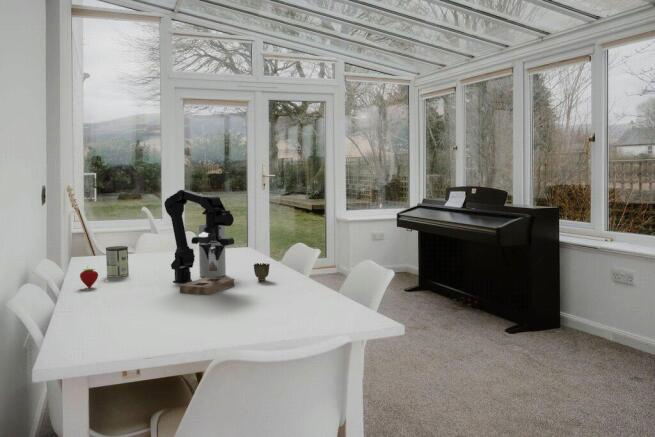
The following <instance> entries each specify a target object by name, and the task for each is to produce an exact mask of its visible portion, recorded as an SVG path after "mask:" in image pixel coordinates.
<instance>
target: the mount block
mask: <svg viewBox="0 0 655 437" xmlns="http://www.w3.org/2000/svg"><path fill="white" fill-rule="evenodd" d="M234 286H235V278H231V277H229V278H228V277H201V278H199V279H196V280H192V281H189V282H186V283H182V284H180V285H179V293H180V294H181V293H182V294H183V293H184V294H197V295H207V296H209V295H211V294H214V293H217V292H219V291H220V292H221V291H222V290H225V289H228V288H231V287H234Z"/></svg>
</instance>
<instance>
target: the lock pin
mask: <svg viewBox="0 0 655 437" xmlns="http://www.w3.org/2000/svg"><path fill="white" fill-rule="evenodd" d="M208 261H209V271H217V270H218V261H217V260H216V248H215V247H210V248H208Z"/></svg>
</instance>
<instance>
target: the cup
mask: <svg viewBox="0 0 655 437" xmlns="http://www.w3.org/2000/svg"><path fill="white" fill-rule="evenodd" d="M253 272H254V276H255V277H256V278H257V281H258V282H266V278H267V277H268V276H269V273H270V263H266V262H265V263H264V262H263V263H261V262H260V263H258V262H256V263H254V264H253Z"/></svg>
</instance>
